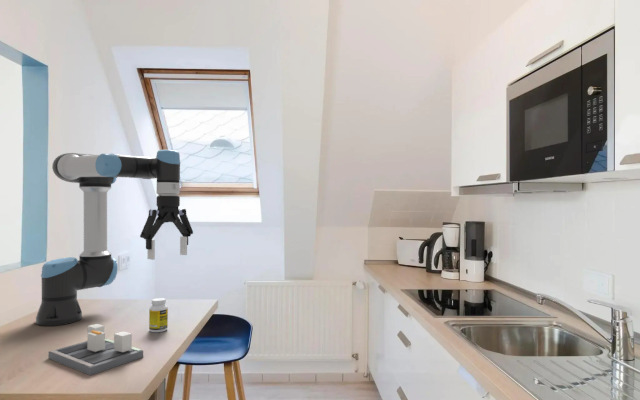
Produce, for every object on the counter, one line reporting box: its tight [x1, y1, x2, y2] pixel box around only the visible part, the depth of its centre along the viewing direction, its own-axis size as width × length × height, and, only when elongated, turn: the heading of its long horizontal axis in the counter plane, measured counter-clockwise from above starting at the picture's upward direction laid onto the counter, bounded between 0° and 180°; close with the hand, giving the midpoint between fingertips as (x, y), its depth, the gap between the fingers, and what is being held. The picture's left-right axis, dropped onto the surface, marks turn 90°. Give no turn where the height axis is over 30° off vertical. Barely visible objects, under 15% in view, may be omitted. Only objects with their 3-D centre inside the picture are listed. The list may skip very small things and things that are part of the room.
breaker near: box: [113, 331, 133, 352], centre depth 127 cm, size 4×3×5 cm
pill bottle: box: [148, 297, 169, 333], centre depth 155 cm, size 6×6×11 cm
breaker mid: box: [86, 330, 106, 352], centre depth 128 cm, size 4×3×5 cm
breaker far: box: [87, 323, 105, 333], centre depth 135 cm, size 4×3×5 cm
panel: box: [47, 337, 144, 376], centre depth 128 cm, size 22×16×2 cm
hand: (167, 257), depth 149 cm, fingers open, 13 cm apart
